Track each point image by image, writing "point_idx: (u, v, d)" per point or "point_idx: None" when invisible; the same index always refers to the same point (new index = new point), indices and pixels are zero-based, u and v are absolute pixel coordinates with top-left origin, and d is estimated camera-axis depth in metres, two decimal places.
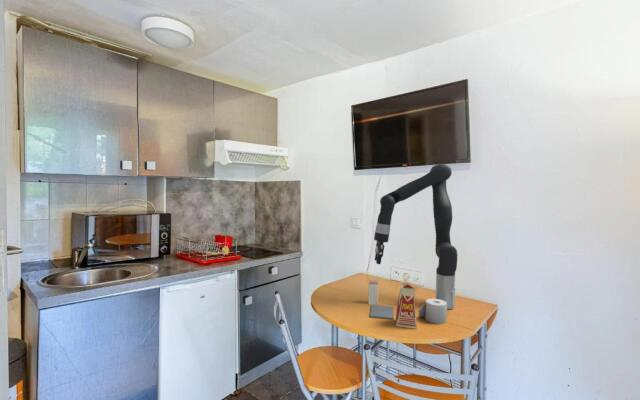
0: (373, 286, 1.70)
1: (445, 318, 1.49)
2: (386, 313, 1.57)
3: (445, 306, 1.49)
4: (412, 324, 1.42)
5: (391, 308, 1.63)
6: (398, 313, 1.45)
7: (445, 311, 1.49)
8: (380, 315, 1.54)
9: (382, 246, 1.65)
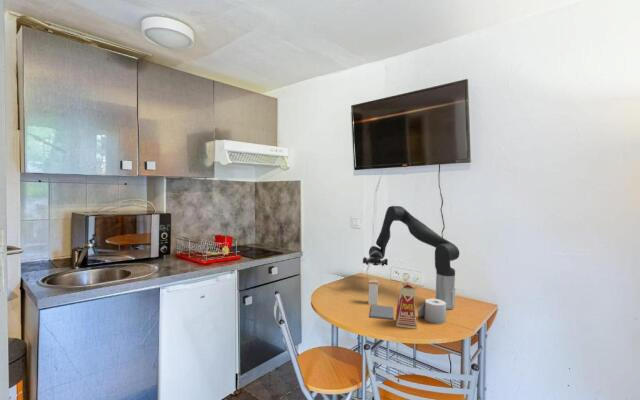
0: (373, 286, 1.70)
1: (444, 318, 1.49)
2: (386, 313, 1.57)
3: (444, 306, 1.49)
4: (412, 324, 1.42)
5: (391, 308, 1.63)
6: (398, 313, 1.45)
7: (444, 311, 1.49)
8: (380, 315, 1.54)
9: None
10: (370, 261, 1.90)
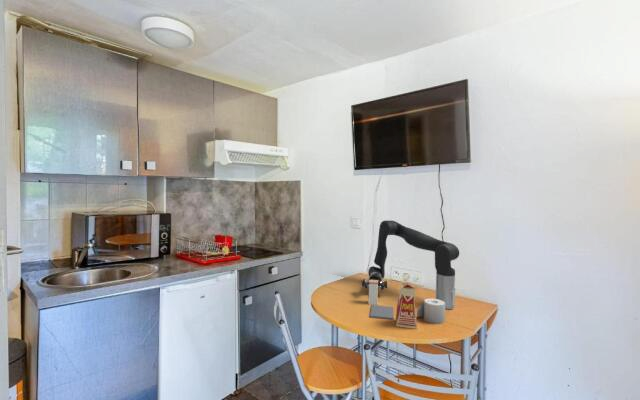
0: (373, 286, 1.70)
1: (443, 318, 1.49)
2: (386, 313, 1.57)
3: (443, 306, 1.49)
4: (412, 324, 1.42)
5: (391, 308, 1.63)
6: (398, 313, 1.45)
7: (443, 311, 1.49)
8: (380, 315, 1.54)
9: None
10: None
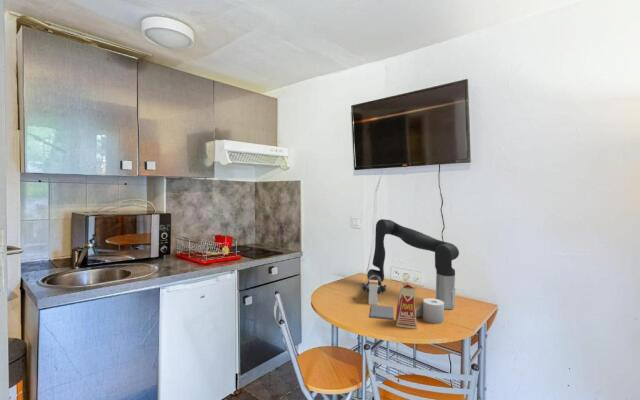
0: (373, 286, 1.70)
1: (442, 318, 1.49)
2: (386, 313, 1.57)
3: (442, 305, 1.49)
4: (412, 324, 1.42)
5: (391, 308, 1.63)
6: (398, 313, 1.45)
7: (442, 311, 1.49)
8: (380, 315, 1.54)
9: (362, 285, 1.80)
10: None
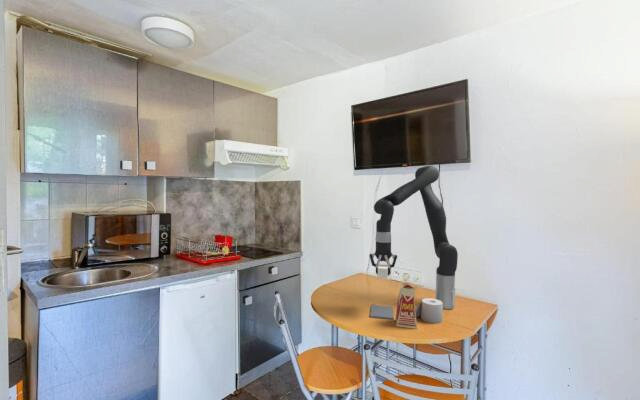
0: None
1: (441, 317, 1.50)
2: (386, 313, 1.57)
3: (441, 305, 1.49)
4: (412, 324, 1.42)
5: (391, 308, 1.63)
6: (398, 313, 1.45)
7: (441, 310, 1.49)
8: (380, 315, 1.54)
9: (396, 256, 1.58)
10: None
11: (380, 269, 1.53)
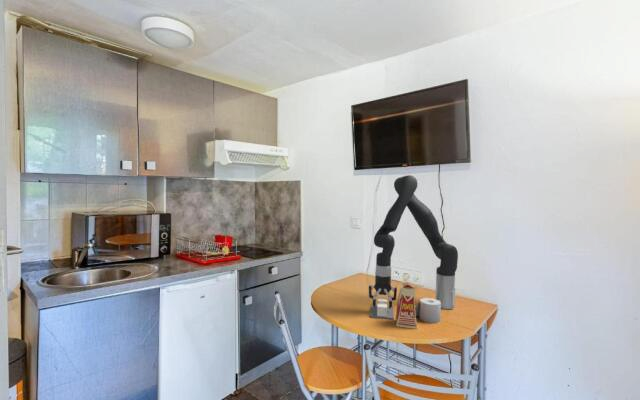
0: None
1: (439, 317, 1.50)
2: None
3: (439, 305, 1.49)
4: (412, 324, 1.42)
5: (391, 308, 1.63)
6: (398, 313, 1.45)
7: (439, 310, 1.50)
8: None
9: (396, 289, 1.58)
10: None
11: (380, 307, 1.53)
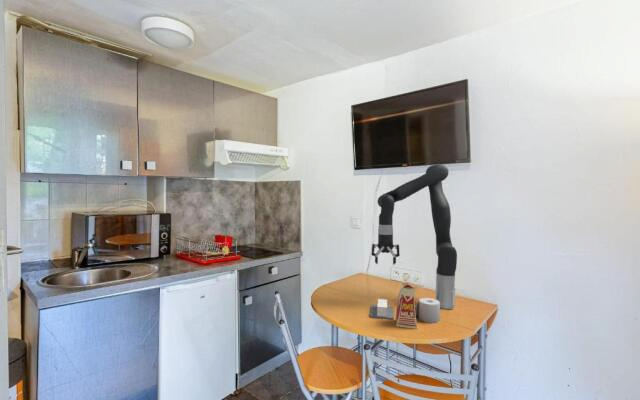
0: None
1: (438, 317, 1.50)
2: None
3: (438, 305, 1.50)
4: (412, 324, 1.42)
5: (391, 308, 1.63)
6: (398, 313, 1.45)
7: (438, 310, 1.50)
8: None
9: (398, 245, 1.67)
10: (390, 252, 1.67)
11: (380, 307, 1.53)
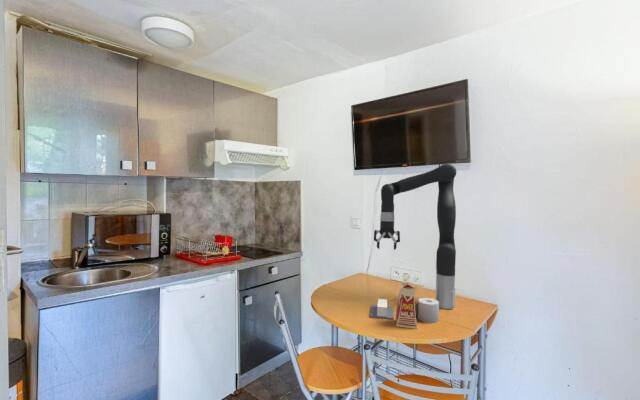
0: None
1: (437, 317, 1.50)
2: None
3: (437, 305, 1.50)
4: (412, 324, 1.42)
5: (391, 308, 1.63)
6: (398, 313, 1.45)
7: (437, 310, 1.50)
8: None
9: (399, 232, 1.77)
10: (391, 238, 1.78)
11: (380, 307, 1.53)
